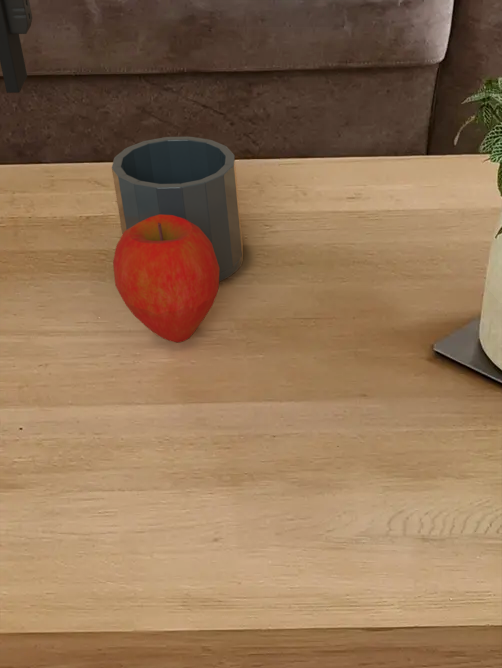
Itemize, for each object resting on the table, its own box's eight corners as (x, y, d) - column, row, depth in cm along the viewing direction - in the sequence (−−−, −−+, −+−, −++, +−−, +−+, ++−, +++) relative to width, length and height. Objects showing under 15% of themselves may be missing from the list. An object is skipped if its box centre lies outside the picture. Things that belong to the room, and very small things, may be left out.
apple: (129, 311, 102) (110, 199, 96) (227, 307, 103) (215, 195, 97) (121, 366, 96) (100, 249, 89) (225, 361, 97) (212, 245, 90)
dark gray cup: (107, 277, 107) (89, 176, 101) (161, 226, 115) (148, 129, 109) (213, 297, 105) (201, 195, 98) (261, 243, 113) (253, 146, 106)
